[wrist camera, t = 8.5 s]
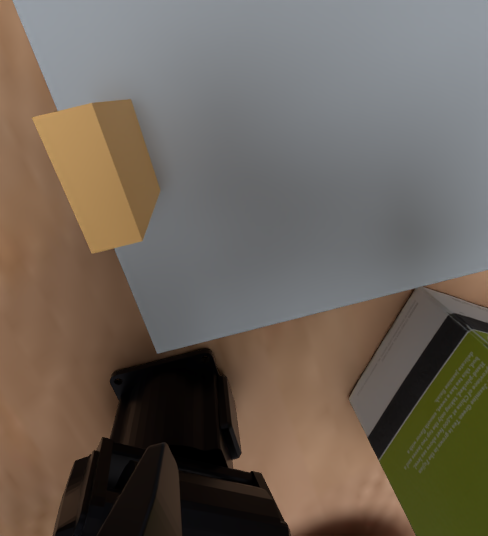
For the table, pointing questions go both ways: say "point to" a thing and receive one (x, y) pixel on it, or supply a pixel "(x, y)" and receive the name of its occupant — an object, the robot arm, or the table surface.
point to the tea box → (432, 413)
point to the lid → (268, 149)
